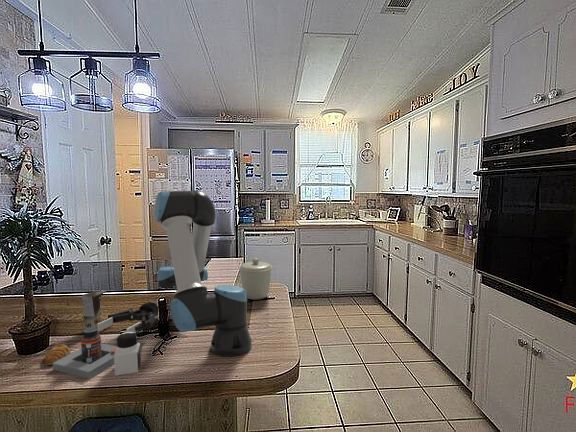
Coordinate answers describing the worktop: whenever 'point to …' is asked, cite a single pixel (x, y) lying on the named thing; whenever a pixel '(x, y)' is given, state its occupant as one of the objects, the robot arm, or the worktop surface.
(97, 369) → the socket plate
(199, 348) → the worktop surface
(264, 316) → the worktop surface
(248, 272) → the canister
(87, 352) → the supplement bottle
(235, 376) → the worktop surface
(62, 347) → the pastry
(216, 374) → the worktop surface
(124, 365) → the medicine bottle
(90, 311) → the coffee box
